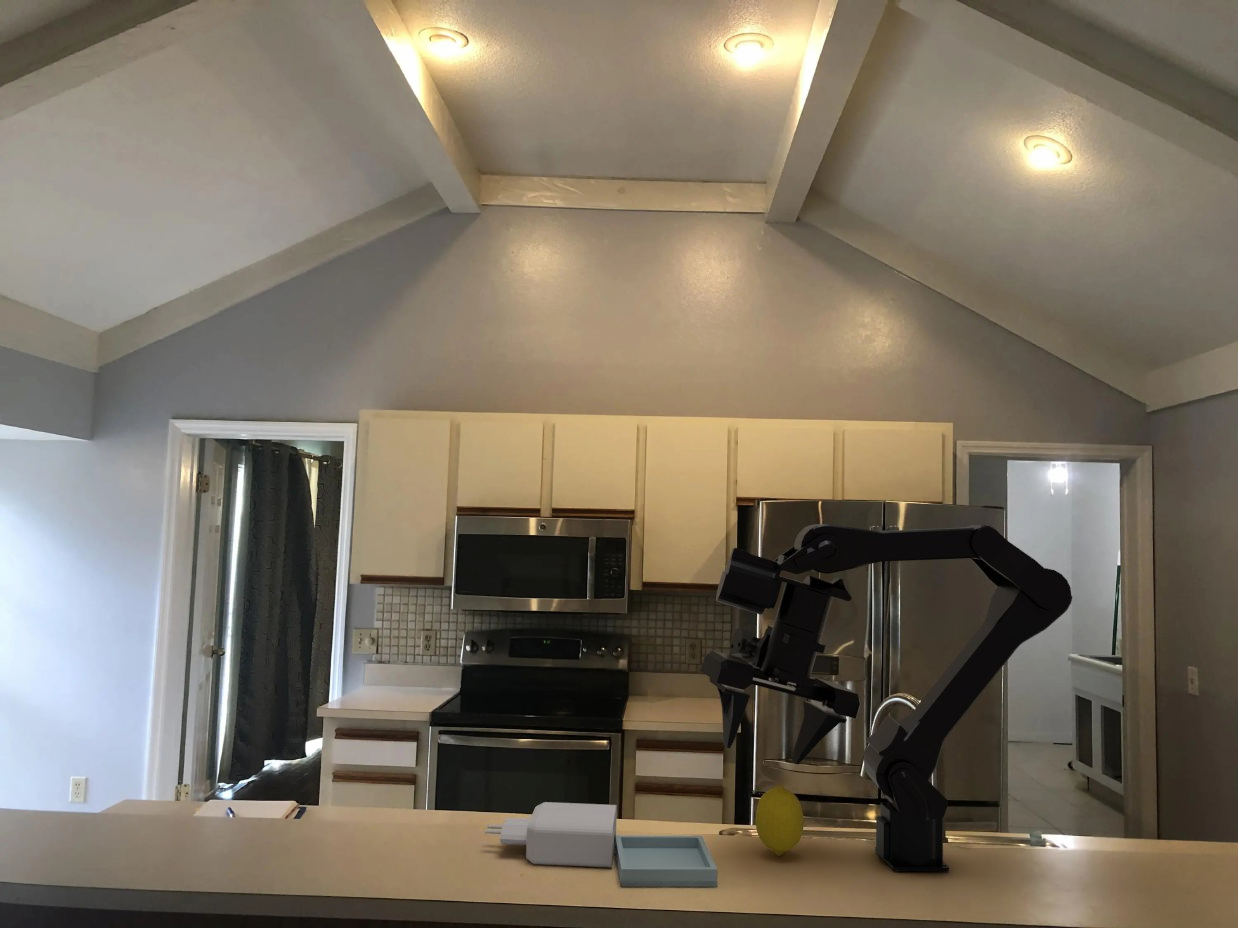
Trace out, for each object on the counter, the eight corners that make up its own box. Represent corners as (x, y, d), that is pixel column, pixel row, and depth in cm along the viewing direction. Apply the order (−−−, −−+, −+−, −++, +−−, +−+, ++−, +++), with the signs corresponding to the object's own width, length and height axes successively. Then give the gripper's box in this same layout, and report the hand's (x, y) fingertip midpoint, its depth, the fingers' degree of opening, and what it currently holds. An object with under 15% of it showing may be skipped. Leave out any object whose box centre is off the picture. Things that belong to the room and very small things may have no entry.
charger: (493, 836, 109) (616, 841, 108) (477, 865, 99) (611, 871, 99) (494, 796, 109) (617, 801, 108) (478, 821, 100) (613, 827, 99)
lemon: (800, 848, 107) (801, 779, 107) (805, 865, 101) (806, 793, 102) (753, 845, 107) (754, 777, 108) (756, 862, 102) (757, 790, 102)
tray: (701, 851, 105) (702, 835, 105) (717, 886, 95) (717, 869, 95) (614, 851, 104) (615, 835, 104) (620, 886, 94) (621, 869, 94)
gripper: (831, 631, 116) (797, 748, 115) (703, 594, 111) (666, 717, 110) (879, 651, 105) (842, 780, 104) (739, 612, 100) (699, 747, 99)
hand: (761, 755), depth 105 cm, fingers open, 9 cm apart
